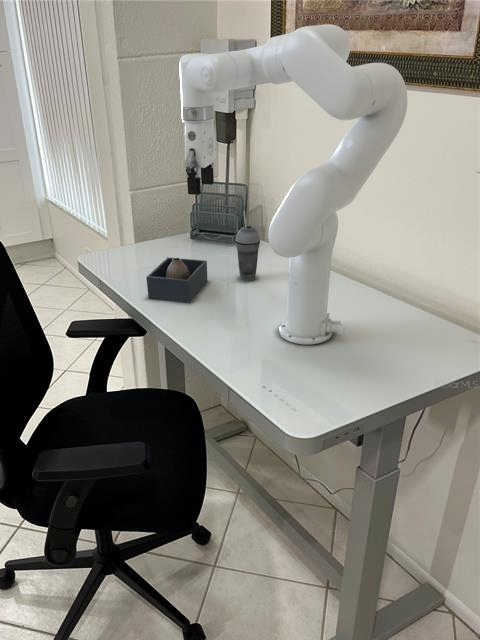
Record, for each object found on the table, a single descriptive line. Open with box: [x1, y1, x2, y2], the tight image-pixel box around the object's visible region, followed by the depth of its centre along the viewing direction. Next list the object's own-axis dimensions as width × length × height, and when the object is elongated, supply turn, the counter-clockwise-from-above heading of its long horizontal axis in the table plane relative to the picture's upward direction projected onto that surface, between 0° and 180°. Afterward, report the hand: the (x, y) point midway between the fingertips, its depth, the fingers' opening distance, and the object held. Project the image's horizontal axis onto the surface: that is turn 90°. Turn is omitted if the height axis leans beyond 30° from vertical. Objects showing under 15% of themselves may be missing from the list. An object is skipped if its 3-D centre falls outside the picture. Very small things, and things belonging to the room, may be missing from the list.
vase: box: [166, 257, 190, 280], centre depth 167 cm, size 7×7×9 cm
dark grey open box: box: [145, 257, 209, 304], centre depth 168 cm, size 12×15×7 cm
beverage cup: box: [234, 209, 261, 282], centre depth 169 cm, size 7×7×20 cm
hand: (201, 189), depth 146 cm, fingers open, 9 cm apart
